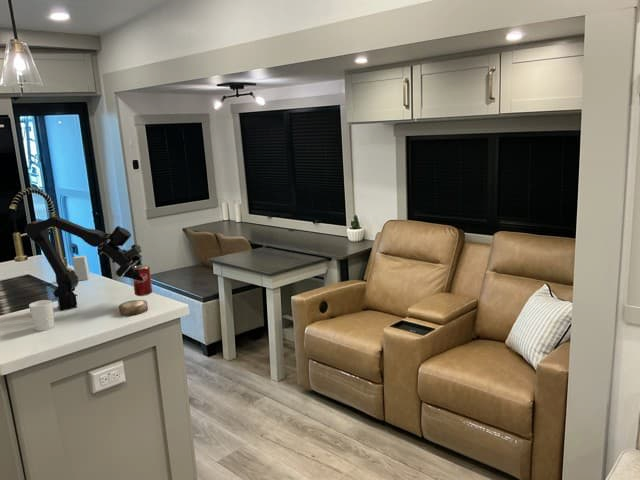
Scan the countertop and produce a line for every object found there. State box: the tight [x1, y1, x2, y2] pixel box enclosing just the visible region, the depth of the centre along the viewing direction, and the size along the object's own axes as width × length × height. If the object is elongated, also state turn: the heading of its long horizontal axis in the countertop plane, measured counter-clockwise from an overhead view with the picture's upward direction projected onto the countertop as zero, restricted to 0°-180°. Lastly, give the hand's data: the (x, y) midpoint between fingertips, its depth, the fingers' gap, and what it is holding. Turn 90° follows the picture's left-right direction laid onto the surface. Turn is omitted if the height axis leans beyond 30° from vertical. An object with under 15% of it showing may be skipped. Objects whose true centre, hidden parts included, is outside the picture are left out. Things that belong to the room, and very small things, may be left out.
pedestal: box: [118, 299, 149, 317], centre depth 217 cm, size 11×11×3 cm
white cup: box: [28, 299, 55, 332], centre depth 202 cm, size 8×8×10 cm
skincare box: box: [71, 255, 91, 282], centre depth 270 cm, size 6×4×12 cm
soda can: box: [132, 264, 153, 297], centre depth 225 cm, size 7×7×12 cm
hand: (145, 277), depth 225 cm, fingers closed on soda can, 7 cm apart
